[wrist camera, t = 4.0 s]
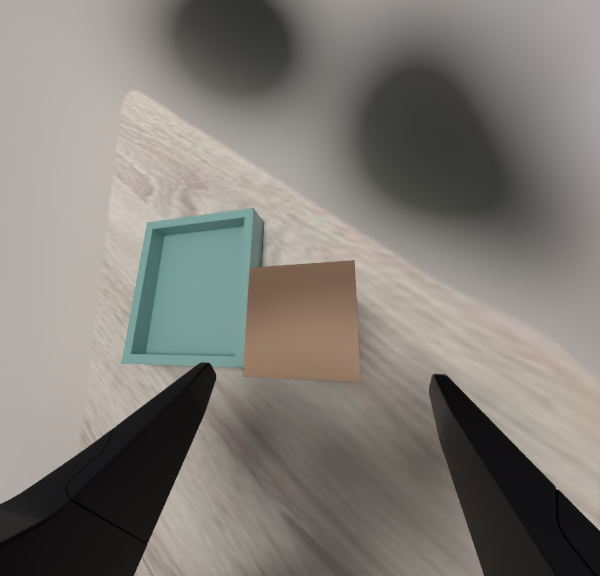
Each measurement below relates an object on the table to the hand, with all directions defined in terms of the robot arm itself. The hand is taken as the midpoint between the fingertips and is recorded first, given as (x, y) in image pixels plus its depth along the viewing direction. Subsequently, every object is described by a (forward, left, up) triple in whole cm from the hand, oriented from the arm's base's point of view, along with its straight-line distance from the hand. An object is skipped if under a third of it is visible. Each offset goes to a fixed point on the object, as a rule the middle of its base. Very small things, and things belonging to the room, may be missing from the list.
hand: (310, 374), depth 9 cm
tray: (+6, +12, -10) cm, 17 cm away
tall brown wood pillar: (+2, 0, -10) cm, 10 cm away
